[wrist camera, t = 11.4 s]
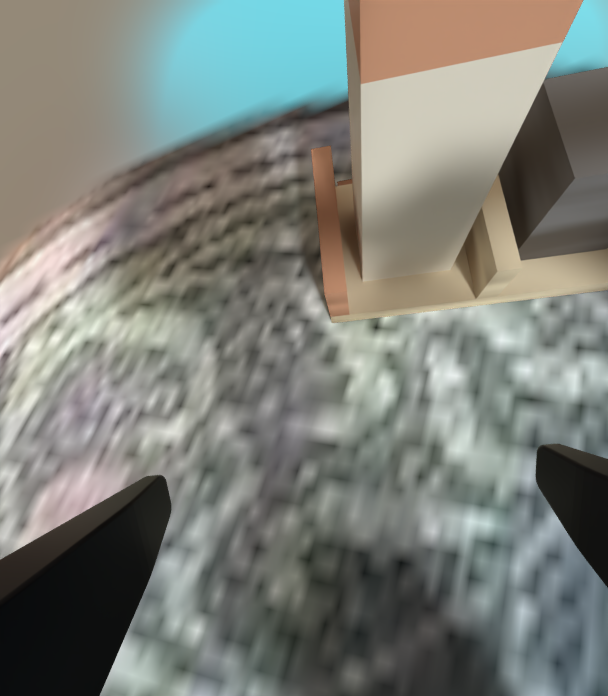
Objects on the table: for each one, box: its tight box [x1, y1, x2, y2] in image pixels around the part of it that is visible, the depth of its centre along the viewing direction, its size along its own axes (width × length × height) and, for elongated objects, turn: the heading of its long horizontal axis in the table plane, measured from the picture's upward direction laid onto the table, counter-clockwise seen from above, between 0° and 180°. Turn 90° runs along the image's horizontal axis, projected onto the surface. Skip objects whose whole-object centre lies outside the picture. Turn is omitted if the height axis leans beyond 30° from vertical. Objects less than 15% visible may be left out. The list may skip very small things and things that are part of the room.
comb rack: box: [311, 67, 608, 323], centre depth 17 cm, size 8×16×7 cm, turn 95°
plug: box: [344, 0, 583, 282], centre depth 13 cm, size 4×4×13 cm
